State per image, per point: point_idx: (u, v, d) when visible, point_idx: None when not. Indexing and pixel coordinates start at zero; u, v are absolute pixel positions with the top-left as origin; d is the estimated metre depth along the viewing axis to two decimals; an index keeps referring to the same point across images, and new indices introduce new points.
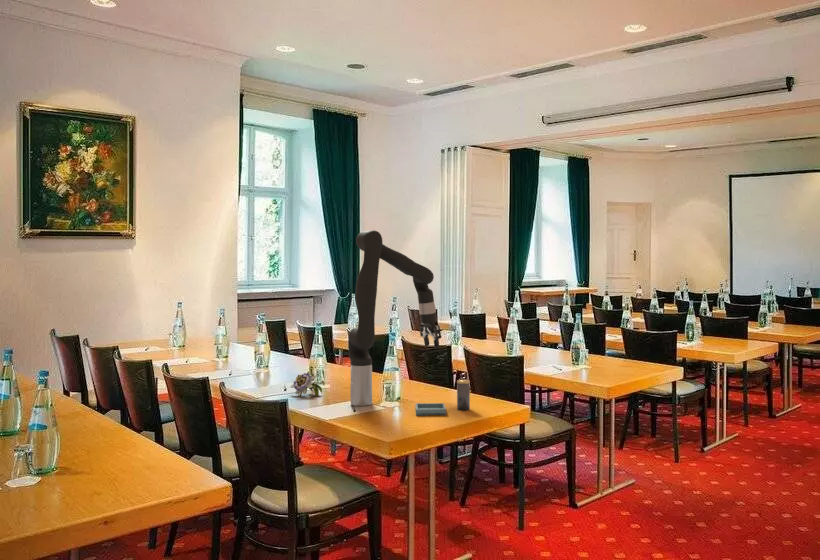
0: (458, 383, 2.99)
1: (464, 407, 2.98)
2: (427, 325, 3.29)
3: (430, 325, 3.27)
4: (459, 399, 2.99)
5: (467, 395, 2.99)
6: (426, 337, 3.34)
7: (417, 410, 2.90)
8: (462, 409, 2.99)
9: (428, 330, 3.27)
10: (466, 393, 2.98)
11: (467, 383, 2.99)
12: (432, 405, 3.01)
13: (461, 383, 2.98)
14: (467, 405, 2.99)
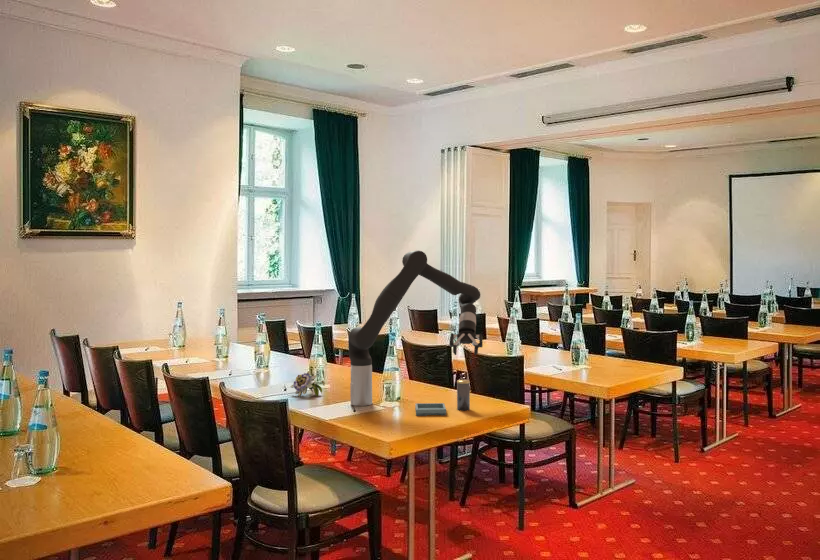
0: (458, 383, 2.99)
1: (464, 407, 2.98)
2: (466, 333, 3.16)
3: (472, 332, 3.16)
4: (459, 399, 2.99)
5: (467, 395, 2.99)
6: None
7: (417, 410, 2.90)
8: (462, 409, 2.99)
9: (470, 336, 3.14)
10: (466, 393, 2.98)
11: (467, 383, 2.99)
12: (432, 405, 3.01)
13: (461, 383, 2.98)
14: (467, 405, 2.99)
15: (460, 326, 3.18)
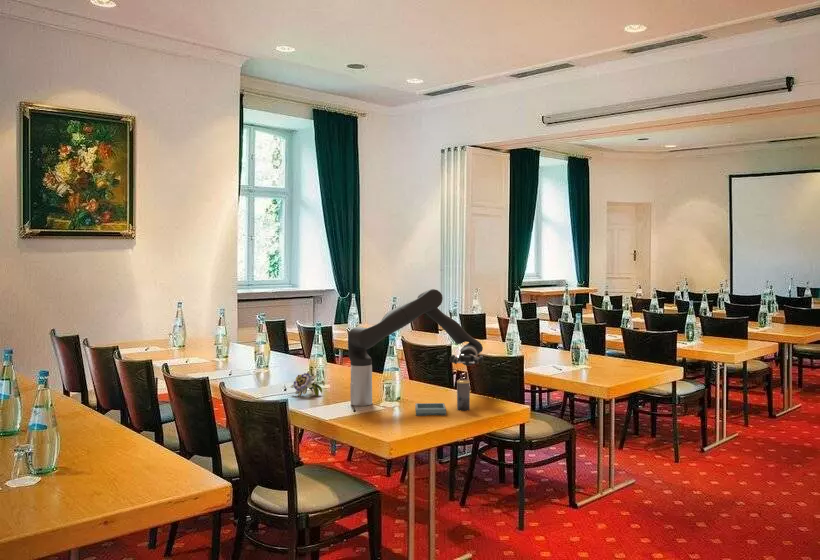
0: (458, 383, 2.99)
1: (464, 407, 2.98)
2: (467, 355, 3.20)
3: (473, 355, 3.20)
4: (459, 399, 2.99)
5: (467, 395, 2.99)
6: (456, 360, 3.15)
7: (417, 410, 2.90)
8: (462, 409, 2.99)
9: (471, 354, 3.18)
10: (466, 393, 2.98)
11: (467, 383, 2.99)
12: (432, 405, 3.01)
13: (461, 383, 2.98)
14: (467, 405, 2.99)
15: (461, 351, 3.23)
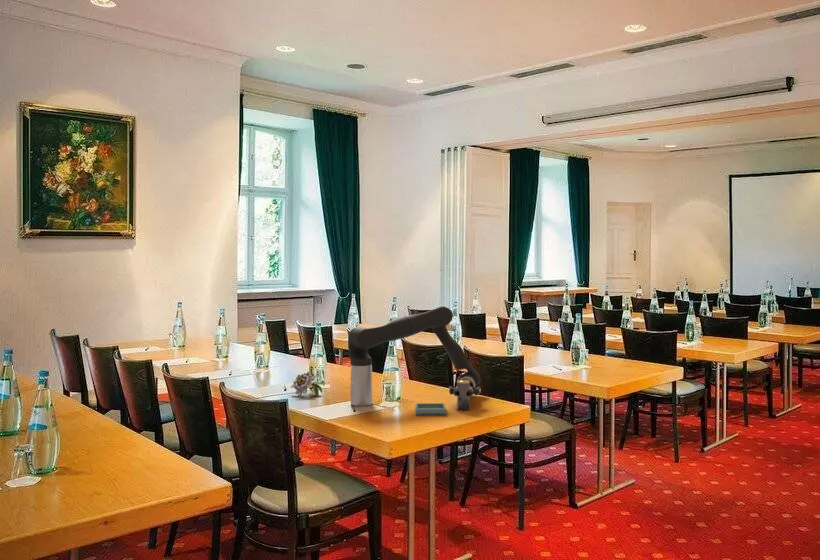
0: (458, 383, 2.99)
1: (464, 407, 2.98)
2: None
3: (471, 386, 3.09)
4: (459, 399, 2.99)
5: (467, 395, 2.99)
6: None
7: (417, 410, 2.90)
8: (462, 409, 2.99)
9: None
10: (466, 393, 2.98)
11: (467, 383, 2.99)
12: (432, 405, 3.01)
13: (461, 383, 2.98)
14: (467, 405, 2.99)
15: None
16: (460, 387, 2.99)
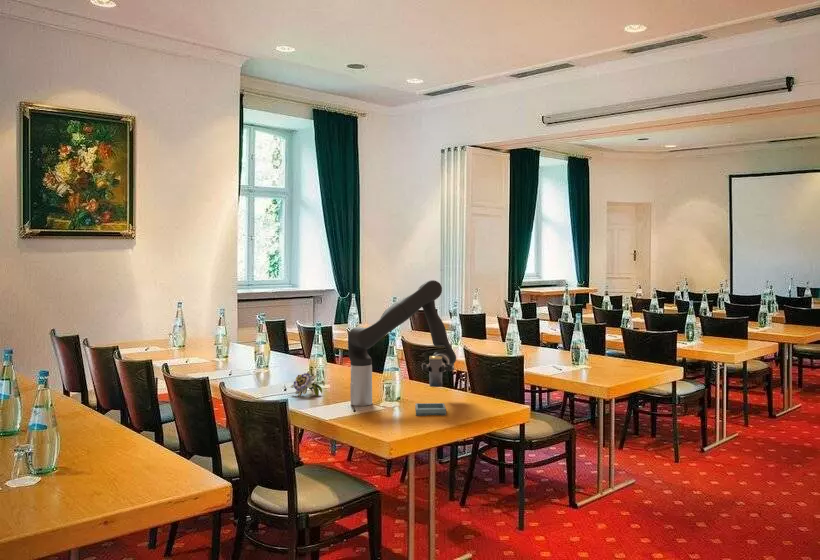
0: (430, 359, 2.94)
1: (436, 384, 2.94)
2: None
3: (444, 362, 3.04)
4: (431, 375, 2.94)
5: (439, 371, 2.94)
6: None
7: (417, 410, 2.90)
8: (434, 385, 2.94)
9: (442, 361, 3.02)
10: (438, 369, 2.94)
11: (439, 359, 2.94)
12: (432, 405, 3.01)
13: (433, 359, 2.93)
14: (439, 381, 2.94)
15: None
16: (432, 363, 2.94)
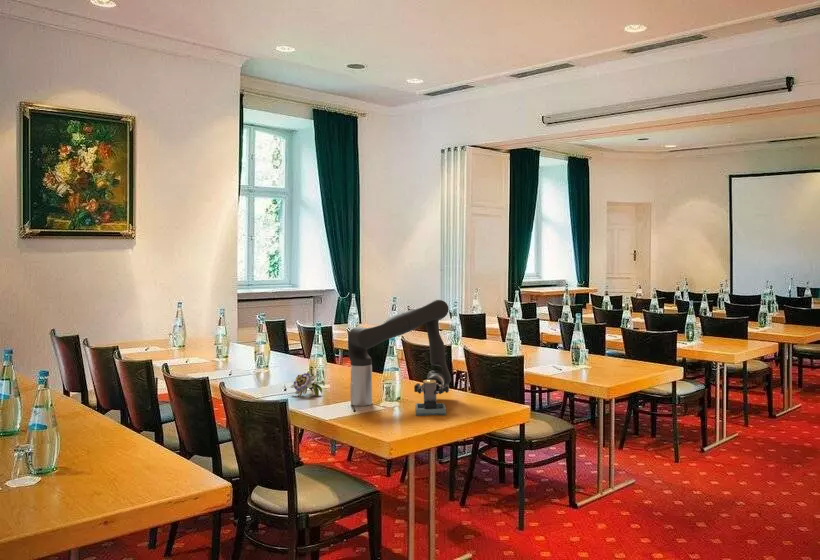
0: (424, 383, 2.94)
1: (431, 408, 2.93)
2: None
3: (438, 384, 3.04)
4: (425, 399, 2.94)
5: (433, 395, 2.94)
6: None
7: (417, 410, 2.90)
8: None
9: (436, 383, 3.01)
10: (432, 393, 2.93)
11: (433, 383, 2.93)
12: None
13: (427, 383, 2.93)
14: (434, 405, 2.94)
15: (427, 379, 3.07)
16: (426, 387, 2.93)
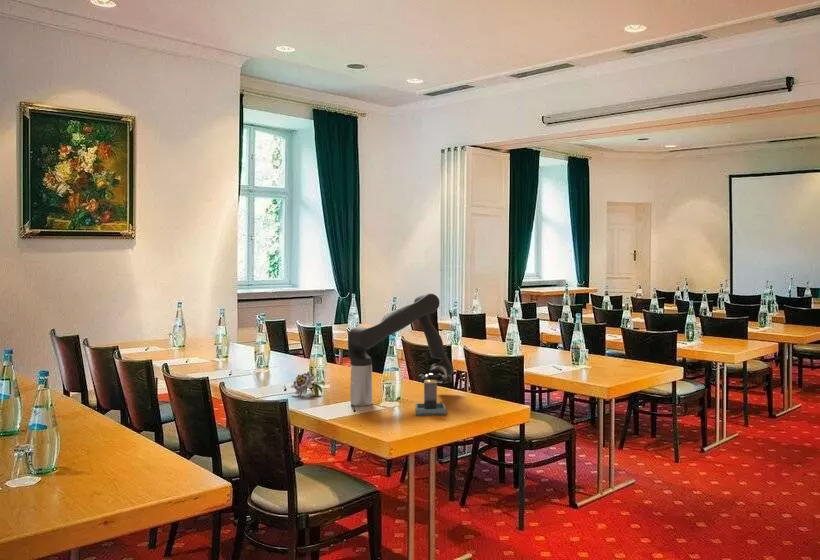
0: (425, 383, 2.94)
1: (431, 408, 2.93)
2: (436, 374, 3.15)
3: (441, 374, 3.15)
4: (426, 399, 2.94)
5: (434, 395, 2.94)
6: (424, 379, 3.10)
7: (417, 410, 2.90)
8: None
9: (439, 373, 3.13)
10: (433, 393, 2.93)
11: (434, 383, 2.94)
12: None
13: (428, 383, 2.93)
14: (434, 405, 2.94)
15: (430, 370, 3.18)
16: (427, 387, 2.93)
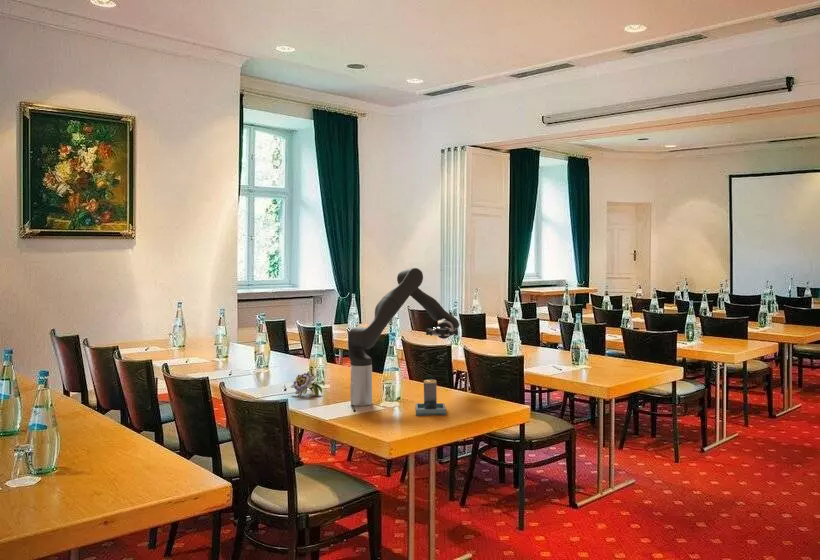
0: (425, 383, 2.94)
1: (431, 408, 2.93)
2: (443, 328, 3.27)
3: None
4: (426, 399, 2.94)
5: (434, 395, 2.94)
6: (432, 332, 3.22)
7: (417, 410, 2.90)
8: None
9: (446, 327, 3.25)
10: (433, 393, 2.93)
11: (434, 383, 2.93)
12: None
13: (428, 383, 2.93)
14: (434, 405, 2.94)
15: None
16: (427, 387, 2.93)
